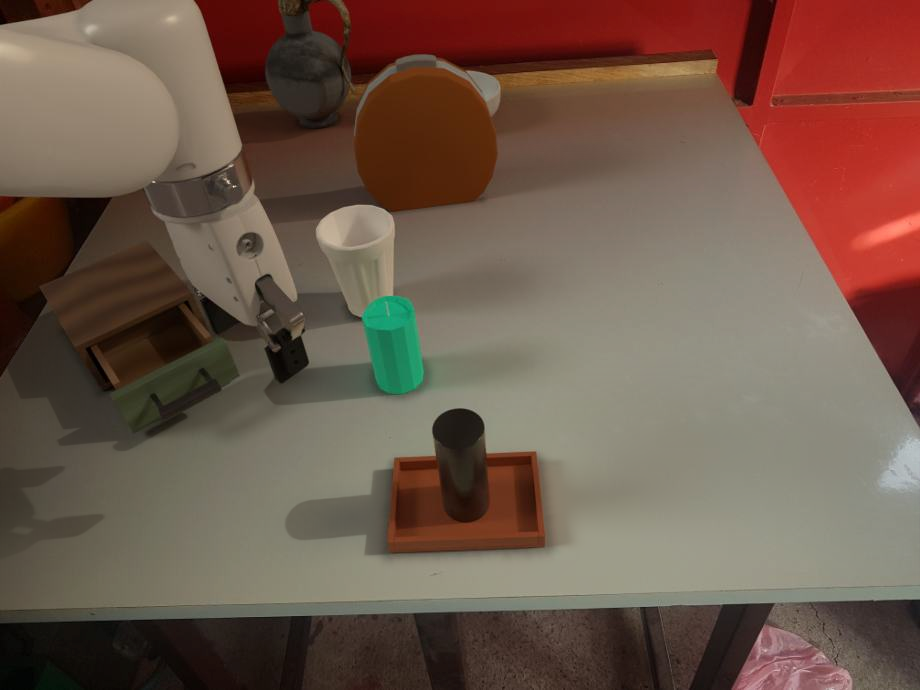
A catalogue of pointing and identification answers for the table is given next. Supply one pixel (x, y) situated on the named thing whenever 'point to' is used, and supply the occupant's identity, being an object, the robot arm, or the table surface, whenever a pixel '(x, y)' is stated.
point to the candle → (394, 344)
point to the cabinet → (115, 299)
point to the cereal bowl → (488, 89)
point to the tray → (503, 525)
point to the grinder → (462, 464)
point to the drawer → (164, 366)
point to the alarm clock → (424, 135)
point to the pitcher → (309, 66)
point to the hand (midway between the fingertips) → (260, 348)
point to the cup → (360, 252)
